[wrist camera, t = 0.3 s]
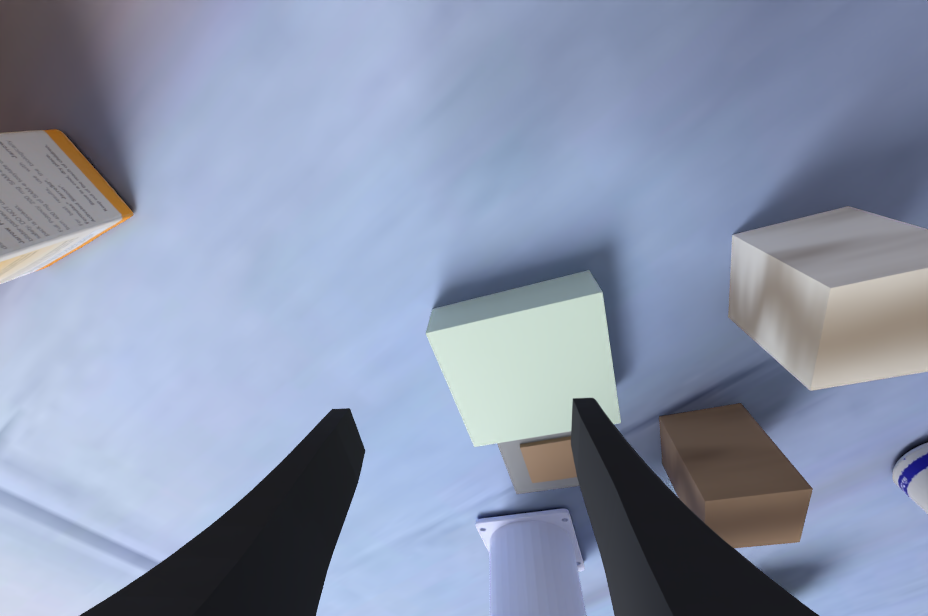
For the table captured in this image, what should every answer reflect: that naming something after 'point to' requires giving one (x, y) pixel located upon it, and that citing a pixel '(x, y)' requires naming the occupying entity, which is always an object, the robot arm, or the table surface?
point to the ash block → (834, 296)
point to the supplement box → (49, 201)
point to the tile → (540, 463)
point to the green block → (526, 357)
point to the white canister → (914, 475)
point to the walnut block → (734, 476)
